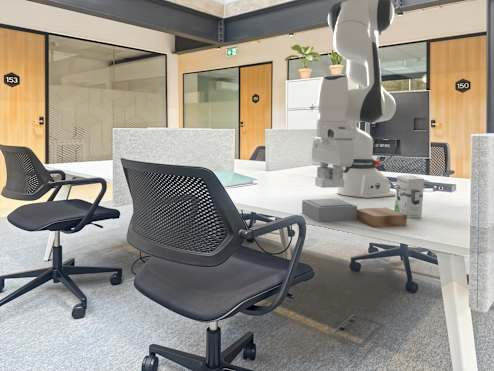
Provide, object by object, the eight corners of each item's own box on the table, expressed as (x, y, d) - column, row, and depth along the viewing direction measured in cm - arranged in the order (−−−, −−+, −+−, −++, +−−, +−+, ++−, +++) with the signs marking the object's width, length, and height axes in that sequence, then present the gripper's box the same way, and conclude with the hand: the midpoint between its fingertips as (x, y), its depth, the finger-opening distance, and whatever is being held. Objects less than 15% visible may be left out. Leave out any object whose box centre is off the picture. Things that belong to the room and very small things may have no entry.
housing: (336, 184, 124) (337, 166, 124) (344, 187, 120) (345, 168, 119) (315, 185, 123) (315, 166, 122) (322, 187, 118) (322, 168, 117)
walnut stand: (385, 217, 122) (385, 207, 122) (406, 225, 112) (407, 214, 112) (354, 218, 119) (355, 208, 119) (373, 227, 110) (374, 216, 109)
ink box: (393, 211, 130) (396, 174, 128) (408, 211, 131) (411, 174, 129) (405, 218, 122) (408, 178, 120) (422, 218, 122) (425, 178, 120)
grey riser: (337, 211, 130) (338, 197, 129) (356, 219, 119) (357, 205, 118) (301, 212, 127) (302, 199, 126) (318, 221, 116) (318, 206, 115)
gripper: (307, 131, 128) (306, 175, 130) (338, 132, 109) (335, 184, 111) (326, 131, 130) (324, 174, 132) (359, 132, 110) (356, 183, 112)
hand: (329, 179), depth 121 cm, fingers closed on housing, 5 cm apart
